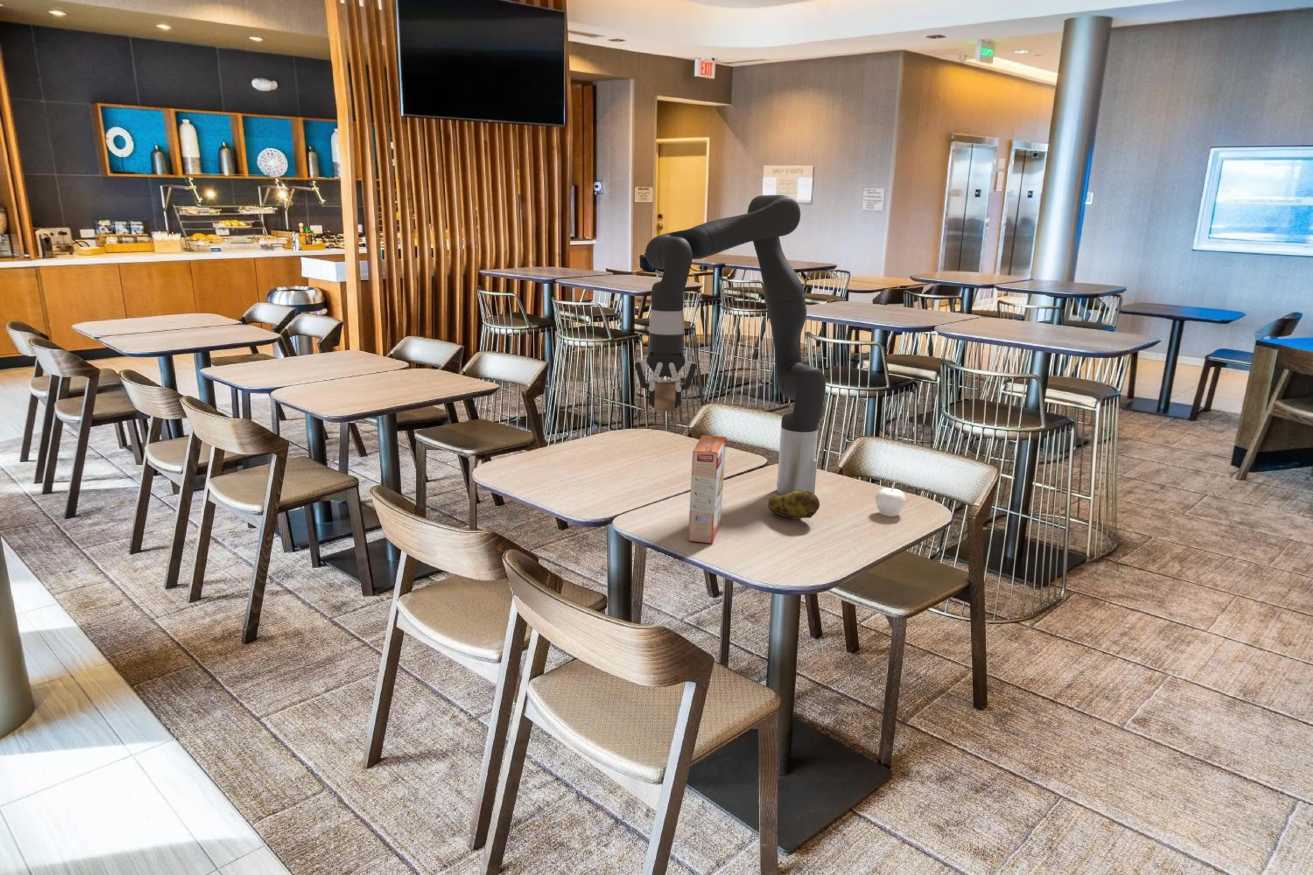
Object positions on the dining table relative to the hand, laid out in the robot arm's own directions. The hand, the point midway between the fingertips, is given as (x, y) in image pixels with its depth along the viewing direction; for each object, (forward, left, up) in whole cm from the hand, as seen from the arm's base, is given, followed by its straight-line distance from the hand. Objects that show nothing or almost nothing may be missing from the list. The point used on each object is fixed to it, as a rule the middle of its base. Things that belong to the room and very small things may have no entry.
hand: (664, 406), depth 193 cm
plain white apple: (-55, -11, -28) cm, 63 cm away
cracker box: (-10, +5, -28) cm, 30 cm away
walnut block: (0, 0, 0) cm, 0 cm away
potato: (-31, -5, -28) cm, 42 cm away
